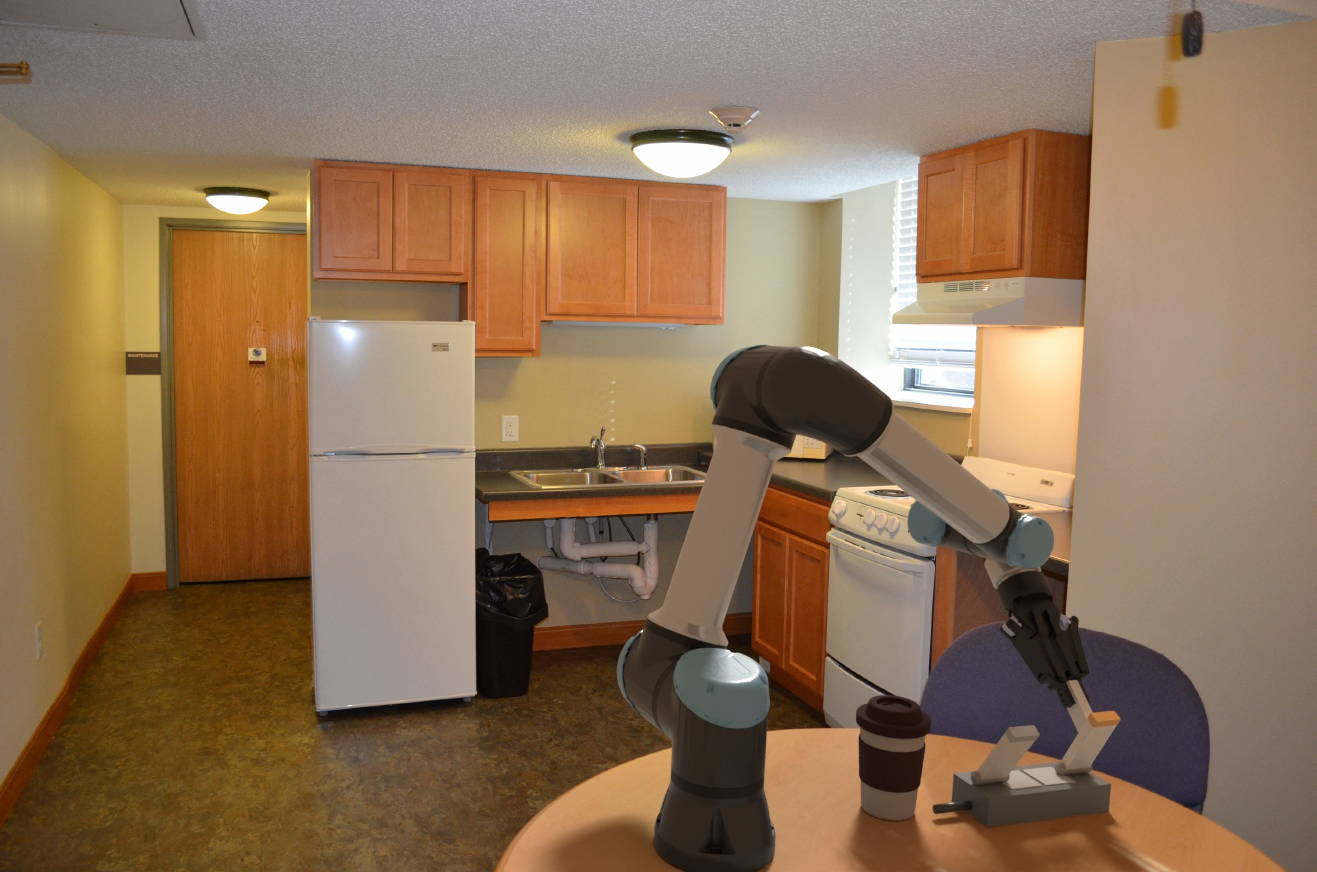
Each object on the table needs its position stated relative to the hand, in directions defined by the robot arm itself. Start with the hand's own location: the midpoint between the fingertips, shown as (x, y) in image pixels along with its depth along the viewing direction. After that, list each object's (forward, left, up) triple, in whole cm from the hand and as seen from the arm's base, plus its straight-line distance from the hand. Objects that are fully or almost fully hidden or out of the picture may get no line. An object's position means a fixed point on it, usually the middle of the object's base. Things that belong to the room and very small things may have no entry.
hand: (1087, 727), depth 135 cm
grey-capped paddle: (-8, -12, -7) cm, 16 cm away
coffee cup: (-17, -22, -12) cm, 30 cm away
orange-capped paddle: (-2, +1, -7) cm, 7 cm away
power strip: (-6, -8, -12) cm, 15 cm away
